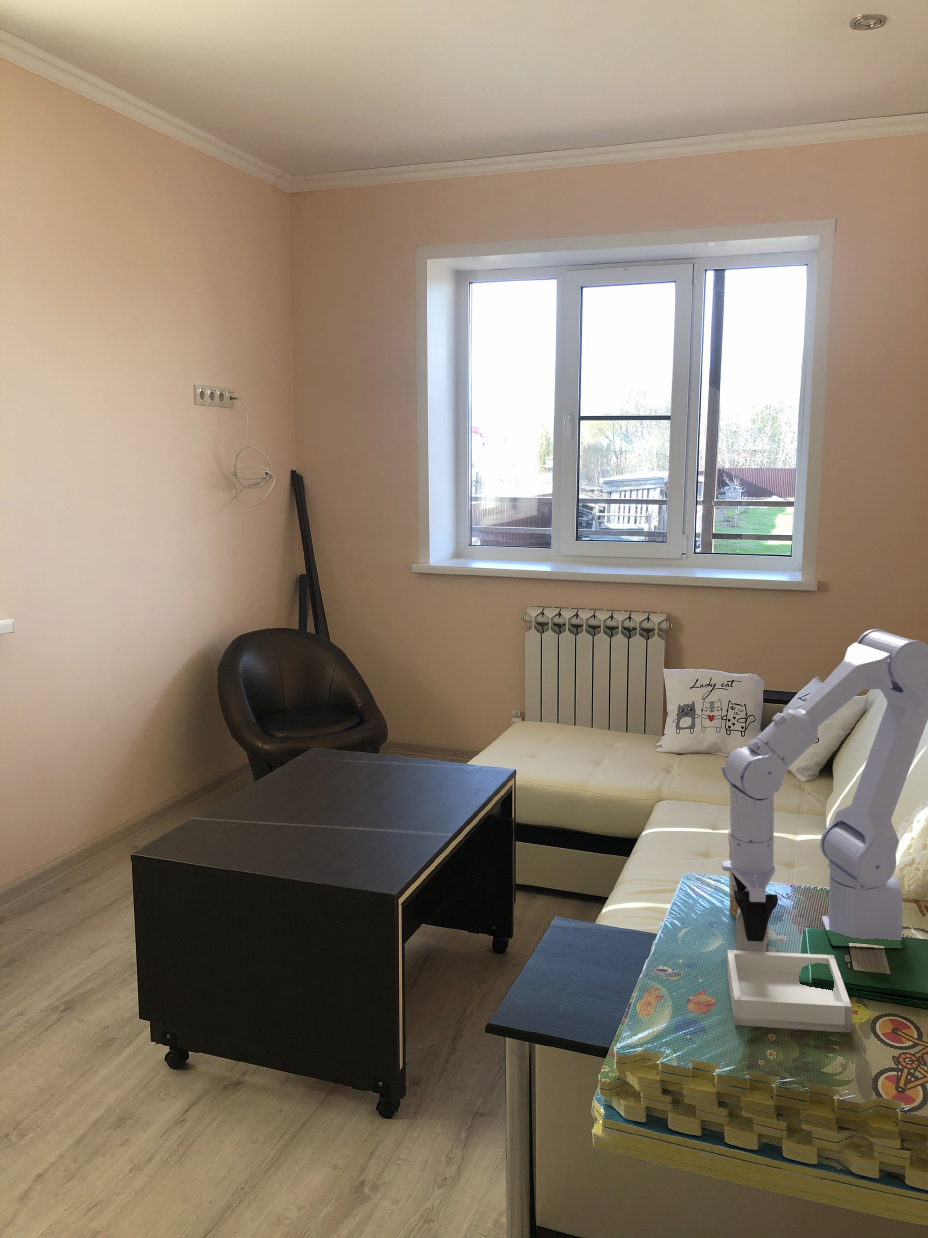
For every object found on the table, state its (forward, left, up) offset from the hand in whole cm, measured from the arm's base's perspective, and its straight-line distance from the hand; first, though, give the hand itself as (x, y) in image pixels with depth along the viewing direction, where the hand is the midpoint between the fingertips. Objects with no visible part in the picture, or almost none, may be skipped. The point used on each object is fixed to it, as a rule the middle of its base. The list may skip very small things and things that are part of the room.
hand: (752, 925), depth 133 cm
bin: (-3, +12, -4) cm, 13 cm away
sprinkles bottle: (0, -11, -4) cm, 12 cm away
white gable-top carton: (0, 0, -4) cm, 4 cm away
